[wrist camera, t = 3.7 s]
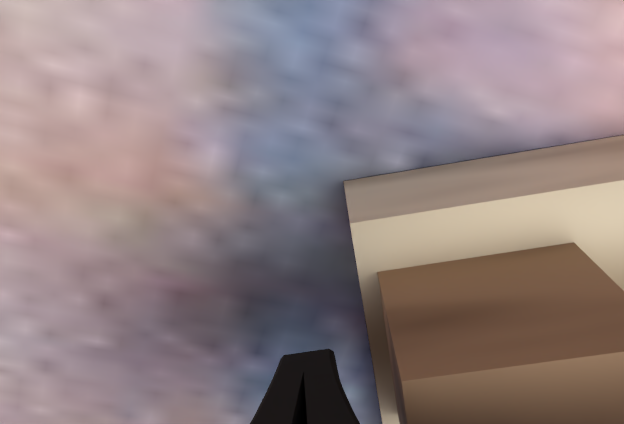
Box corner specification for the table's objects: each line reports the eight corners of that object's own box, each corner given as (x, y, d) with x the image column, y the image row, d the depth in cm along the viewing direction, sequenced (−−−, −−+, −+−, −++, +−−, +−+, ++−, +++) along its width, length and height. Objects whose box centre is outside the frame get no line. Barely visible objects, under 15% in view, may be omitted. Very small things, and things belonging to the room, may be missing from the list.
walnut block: (568, 392, 15) (652, 525, 11) (397, 414, 15) (424, 550, 11) (573, 242, 13) (678, 343, 9) (377, 272, 13) (401, 380, 10)
